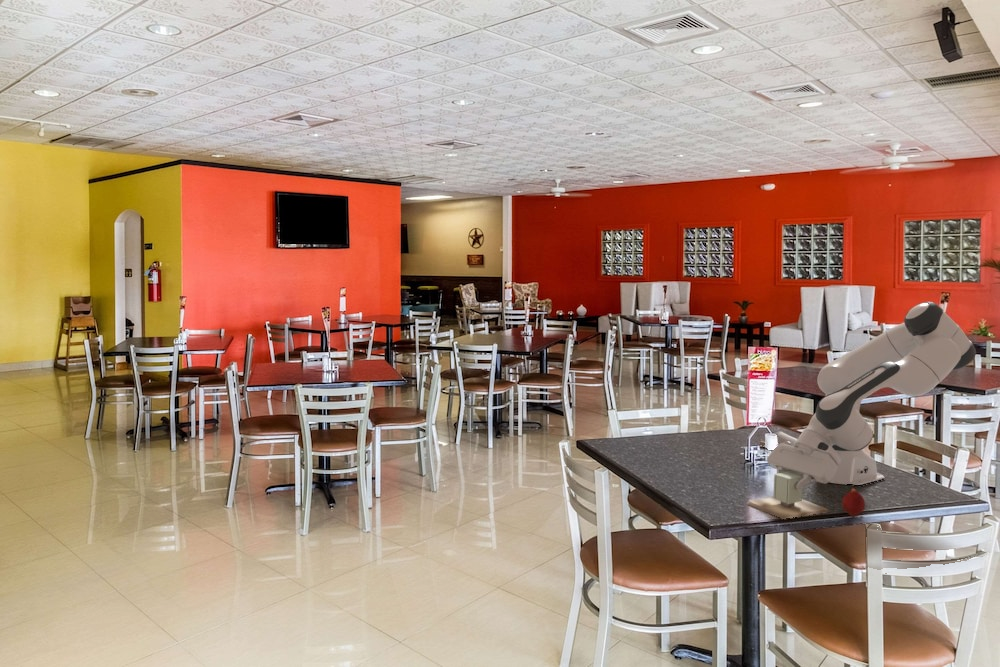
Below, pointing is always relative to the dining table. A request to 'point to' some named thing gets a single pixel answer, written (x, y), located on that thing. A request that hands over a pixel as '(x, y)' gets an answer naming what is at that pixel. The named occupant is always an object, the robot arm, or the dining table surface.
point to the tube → (785, 437)
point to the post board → (787, 508)
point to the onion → (853, 503)
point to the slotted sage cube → (787, 487)
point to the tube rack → (762, 443)
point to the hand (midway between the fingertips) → (786, 485)
